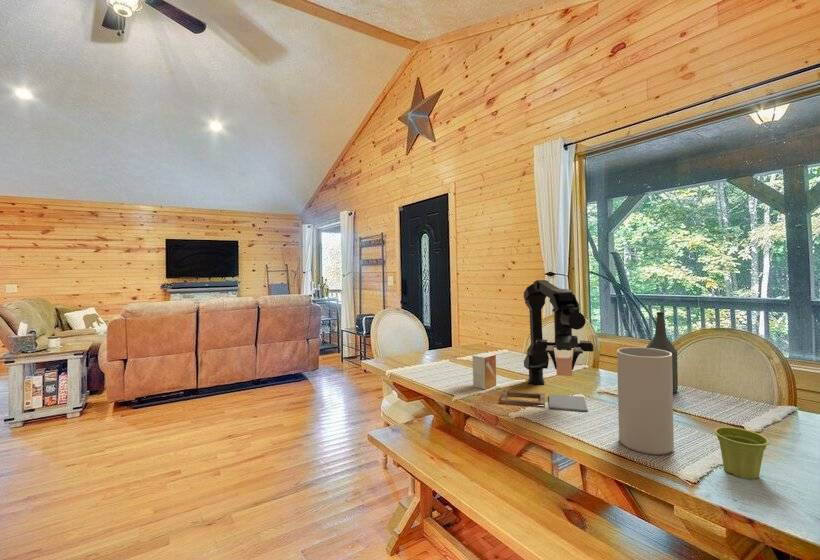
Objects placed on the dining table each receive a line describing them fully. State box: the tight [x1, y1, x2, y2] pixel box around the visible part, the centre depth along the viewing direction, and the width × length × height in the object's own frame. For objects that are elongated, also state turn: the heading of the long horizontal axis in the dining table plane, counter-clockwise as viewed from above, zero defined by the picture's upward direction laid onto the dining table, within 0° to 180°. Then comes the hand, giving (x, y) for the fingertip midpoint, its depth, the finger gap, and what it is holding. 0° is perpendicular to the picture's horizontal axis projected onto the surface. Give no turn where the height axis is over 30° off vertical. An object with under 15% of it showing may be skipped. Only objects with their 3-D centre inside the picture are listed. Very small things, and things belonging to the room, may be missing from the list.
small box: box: [472, 352, 497, 390], centre depth 160 cm, size 8×6×13 cm
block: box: [555, 354, 573, 377], centre depth 136 cm, size 5×5×6 cm
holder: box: [500, 390, 546, 407], centre depth 142 cm, size 11×15×1 cm
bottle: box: [645, 311, 679, 393], centre depth 148 cm, size 10×10×30 cm
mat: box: [548, 394, 589, 413], centre depth 137 cm, size 14×12×1 cm
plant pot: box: [714, 426, 770, 480], centre depth 88 cm, size 9×9×9 cm
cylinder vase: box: [616, 347, 675, 455], centre depth 103 cm, size 12×12×25 cm
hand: (564, 369), depth 137 cm, fingers closed on block, 5 cm apart
